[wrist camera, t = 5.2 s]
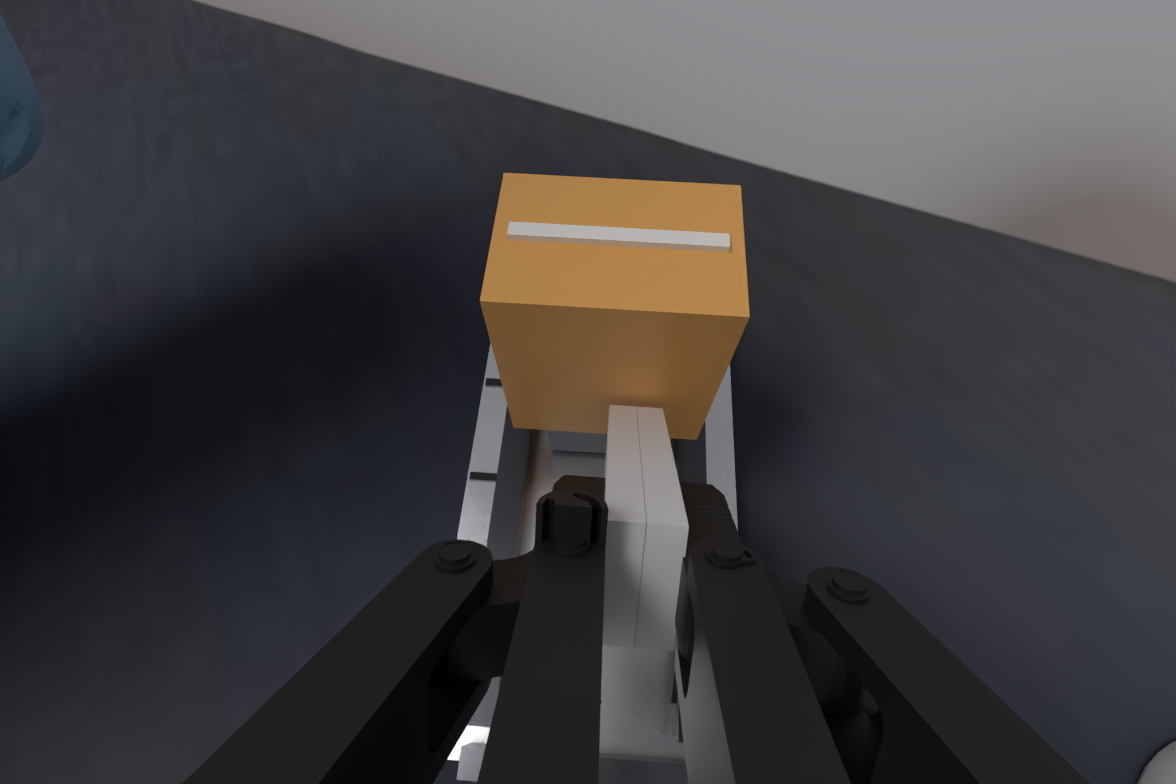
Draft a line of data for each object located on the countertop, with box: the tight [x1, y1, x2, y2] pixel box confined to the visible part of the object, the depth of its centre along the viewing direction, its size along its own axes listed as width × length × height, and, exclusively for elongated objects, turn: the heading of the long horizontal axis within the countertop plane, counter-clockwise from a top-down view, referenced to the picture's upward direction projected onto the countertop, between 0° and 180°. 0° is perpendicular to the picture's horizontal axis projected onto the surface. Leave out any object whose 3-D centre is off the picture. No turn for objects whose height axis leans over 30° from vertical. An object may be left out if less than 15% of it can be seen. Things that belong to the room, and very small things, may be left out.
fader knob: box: [480, 173, 750, 453], centre depth 18 cm, size 4×6×10 cm, turn 86°
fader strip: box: [447, 342, 738, 784], centre depth 23 cm, size 23×10×4 cm, turn 176°
